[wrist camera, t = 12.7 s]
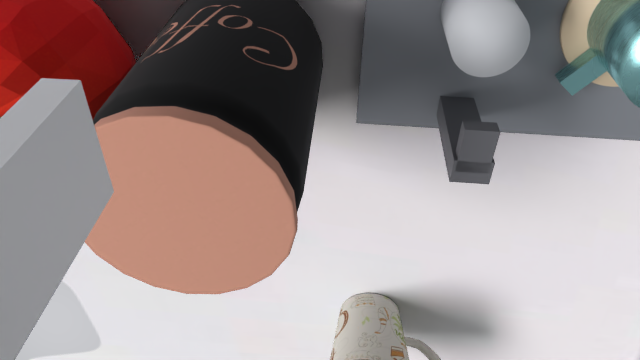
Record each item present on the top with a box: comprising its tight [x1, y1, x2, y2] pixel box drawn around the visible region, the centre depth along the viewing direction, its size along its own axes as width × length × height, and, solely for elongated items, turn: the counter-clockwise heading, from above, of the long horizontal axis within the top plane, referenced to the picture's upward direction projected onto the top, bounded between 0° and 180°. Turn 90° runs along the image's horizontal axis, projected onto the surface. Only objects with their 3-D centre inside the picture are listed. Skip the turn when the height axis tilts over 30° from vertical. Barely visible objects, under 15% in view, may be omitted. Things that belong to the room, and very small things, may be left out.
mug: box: [330, 293, 441, 360], centre depth 51 cm, size 8×13×10 cm, turn 71°
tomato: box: [0, 0, 136, 120], centre depth 33 cm, size 16×14×14 cm
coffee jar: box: [85, 0, 323, 294], centre depth 31 cm, size 11×11×18 cm
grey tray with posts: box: [357, 0, 640, 184], centre depth 31 cm, size 18×22×9 cm
